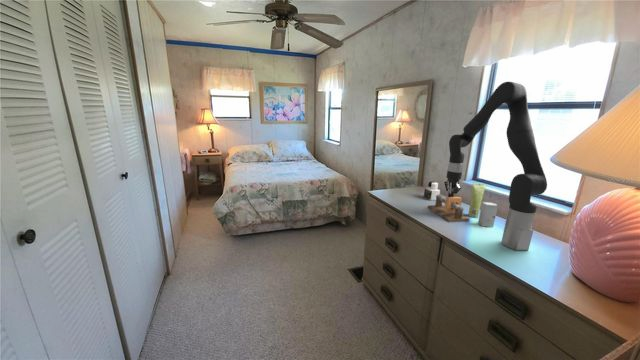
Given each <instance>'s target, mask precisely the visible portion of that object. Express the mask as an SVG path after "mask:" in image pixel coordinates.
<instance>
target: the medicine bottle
mask: <svg viewBox="0 0 640 360" xmlns="http://www.w3.org/2000/svg"><path fill="white" fill-rule="evenodd" d="M438 187H439V183H438V182H436V181H428V184H427V187H425V188H424V192H423V198H424V199H426V200H428V201H436V196H437V195H441V189H438Z"/></svg>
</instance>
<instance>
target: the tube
mask: <svg viewBox="0 0 640 360" xmlns="http://www.w3.org/2000/svg"><path fill="white" fill-rule="evenodd" d="M486 187H487V184H486V183H472V185H471V197H470V201H469V202H470V204H469V210H468V213H467V214H468V216H469V217H471V218H479V215H480V211H481V206H482V202H483V201H482V200H483V197H484V195H485V190H486Z"/></svg>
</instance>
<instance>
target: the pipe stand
mask: <svg viewBox="0 0 640 360" xmlns="http://www.w3.org/2000/svg"><path fill="white" fill-rule="evenodd" d="M445 202H446V197H444V196H443V195H441V194H440V195H437V196H436V200H435V204H433V205H432V204H431V205H430V204H429V205H428V206H427V208H428V209H429V210H430V211H432V212H433V213H435V214H437V215H438V216H439V217H441V218H442V219H444V220H445V221H447V222H448V223H452V222H453V223H456V222H457V223H459V222H470V218H469V217H467V216H465V215H463V211H464V207H463V206H459V205H457V204H455V203H451V208H453V209H455V212H453V213H446V212H445V211H444V209H445ZM443 203H444V204H443Z"/></svg>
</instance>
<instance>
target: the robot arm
mask: <svg viewBox="0 0 640 360" xmlns="http://www.w3.org/2000/svg"><path fill="white" fill-rule="evenodd" d="M503 104H506V106H507V108H508V112H509V122H508V124H507V127H506V139H507V145H508V148H509V149H510V151H511V152H512V154H513V155H514V156H515V157H516V158H517V159H518V161H519V162H520V163H521V166H522V169H523V173H518V174H516V175H515V176H513V178H512V180H511V181H510V182H511V183H510V187H509V195H508V204H509V205H508V206H509V207H508V211H507V214H506V220H505V223H504V229H503V232H502V233H503V234H502V236H501V237H502V238H501V244H502V245H503V246H505V247H506V248H509V249H512V250H515V251H529V250H530V245H531V241H532V238H533V233H534V229H532V228H533V223H534V219H535V215H536V212H537V205H536V204H534V203H532V202H531V198H532V196H539V195H542V194H544V193H545V192H546V190H547V188H548V180H547V177H546V174H545V172H544V169H543V166H542V163H541V160H540V157H539V153H538V152H539V151H538V150H537V149H538V148H537V145H536V139H535V134H534V129H533V126H532V122H531V116H530V113H529V107H528V95H527V90H526V87H525V85H523V84H521V83H518V82H513V81H504V82H502V83H500V85H498V86H497V87H496V89H495V90H494V91H493V93H491V95H490V97H488V99H487V100H486V102H485V103H484V105H482V107H481V108H480V110H479V111H478V112H477V113H476V115H475V116H473V118H472V119H470V120H469V122H468V123H467V124H466V125H464V127H463V132H462V133H461V134H453V135H452V136H451V137H450V138H449V141H448V144H449V145H448V146H449V154H450V155H449V161H448V165H447V172H446V176H445V177H446V178H447V180H446V181H444V187H445V191H446V192H447V193H448V194H447V197H455V196H454V195H456V194H458V193H459V192H460V191H461V190H462V186H460V180H462V175H463V169H464V160H465V153H464V152H462V148H465V147H467V146H469V145H470V143H472V141H473V140H474V138H476V135H478V133H480V132H481V131H482V130H483V129H484V128H485V127H486V126H487V124H488V123H489V121H490V119H491V117H492V115H493V114H494V112H495V111H496V110H497V109H498V108H499V107H501V106H502V105H503Z"/></svg>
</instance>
